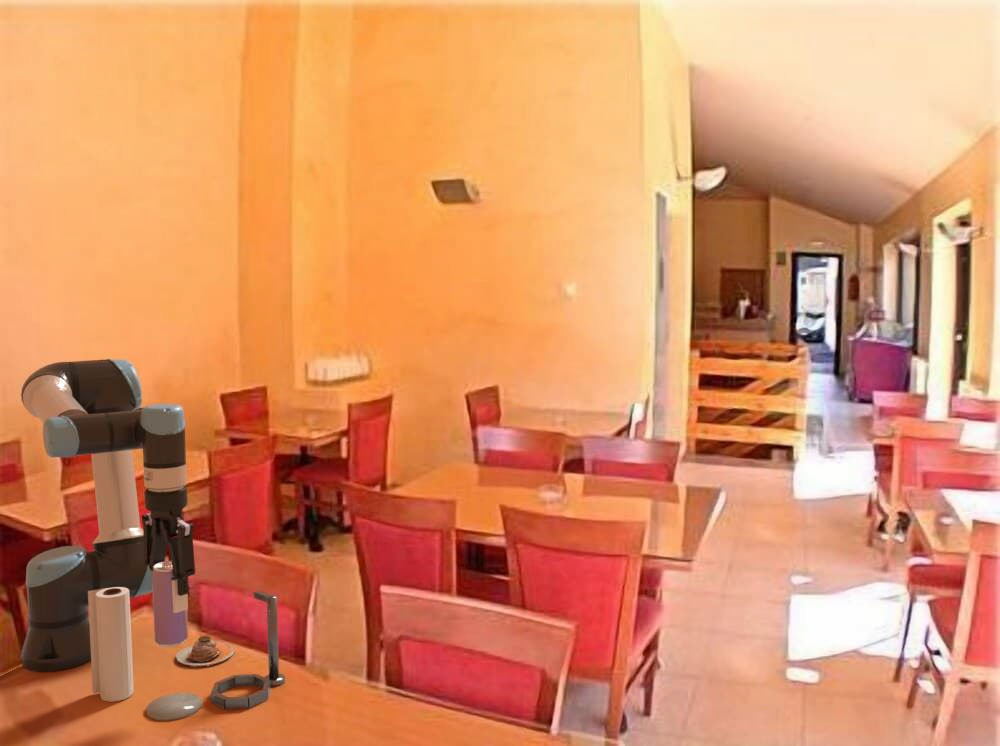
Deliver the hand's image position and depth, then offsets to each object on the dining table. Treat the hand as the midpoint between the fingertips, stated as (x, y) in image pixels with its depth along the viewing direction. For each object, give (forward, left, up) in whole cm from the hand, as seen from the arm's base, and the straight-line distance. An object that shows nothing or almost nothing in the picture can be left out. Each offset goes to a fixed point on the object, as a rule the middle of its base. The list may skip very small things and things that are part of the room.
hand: (170, 606), depth 173 cm
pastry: (-16, +18, -21) cm, 32 cm away
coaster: (0, 0, -20) cm, 20 cm away
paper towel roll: (-14, -4, -20) cm, 25 cm away
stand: (+6, +13, -20) cm, 25 cm away
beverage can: (0, 0, -7) cm, 7 cm away
